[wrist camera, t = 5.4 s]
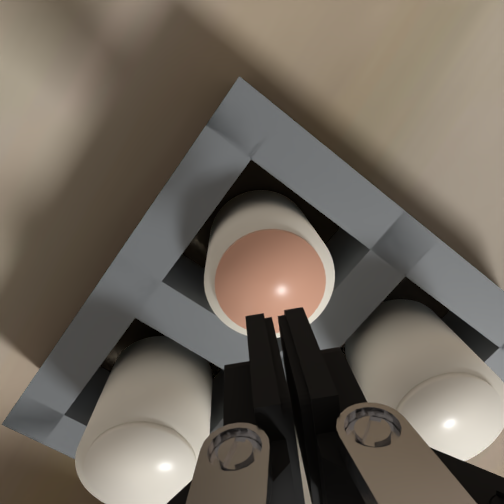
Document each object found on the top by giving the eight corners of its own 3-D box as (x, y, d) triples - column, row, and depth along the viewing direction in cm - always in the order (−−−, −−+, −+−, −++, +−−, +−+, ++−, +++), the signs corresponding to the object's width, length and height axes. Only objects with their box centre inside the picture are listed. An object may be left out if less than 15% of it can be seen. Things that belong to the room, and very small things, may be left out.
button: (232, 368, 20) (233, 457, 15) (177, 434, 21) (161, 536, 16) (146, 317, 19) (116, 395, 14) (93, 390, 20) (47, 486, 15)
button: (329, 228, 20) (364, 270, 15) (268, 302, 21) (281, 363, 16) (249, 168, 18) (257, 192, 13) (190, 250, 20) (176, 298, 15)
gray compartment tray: (504, 298, 22) (561, 338, 18) (297, 503, 26) (308, 569, 23) (237, 82, 18) (239, 76, 14) (40, 370, 22) (1, 424, 18)
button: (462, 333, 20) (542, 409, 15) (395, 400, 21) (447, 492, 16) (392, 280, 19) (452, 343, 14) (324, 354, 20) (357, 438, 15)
